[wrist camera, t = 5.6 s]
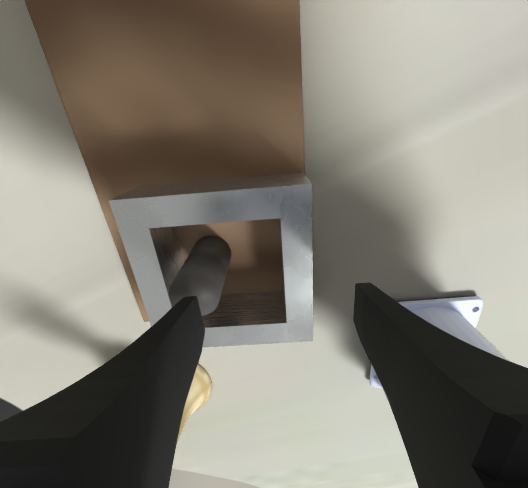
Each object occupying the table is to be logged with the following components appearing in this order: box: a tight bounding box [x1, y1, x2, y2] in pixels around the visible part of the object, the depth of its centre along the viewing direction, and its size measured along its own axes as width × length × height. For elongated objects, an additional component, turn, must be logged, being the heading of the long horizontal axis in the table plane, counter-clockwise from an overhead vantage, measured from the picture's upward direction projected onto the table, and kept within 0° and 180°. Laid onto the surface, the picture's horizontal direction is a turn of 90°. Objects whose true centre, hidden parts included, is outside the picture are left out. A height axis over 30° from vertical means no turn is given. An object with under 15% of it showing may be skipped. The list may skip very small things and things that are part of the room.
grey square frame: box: [109, 172, 313, 347], centre depth 16 cm, size 10×10×4 cm
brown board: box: [25, 0, 305, 322], centre depth 14 cm, size 22×13×6 cm, turn 6°
